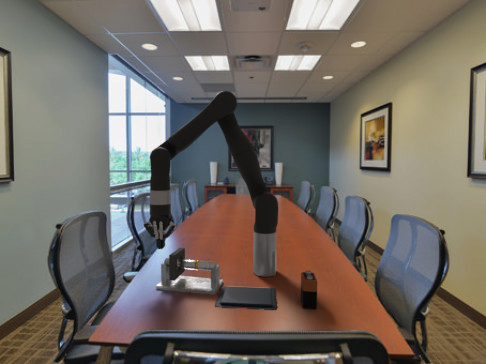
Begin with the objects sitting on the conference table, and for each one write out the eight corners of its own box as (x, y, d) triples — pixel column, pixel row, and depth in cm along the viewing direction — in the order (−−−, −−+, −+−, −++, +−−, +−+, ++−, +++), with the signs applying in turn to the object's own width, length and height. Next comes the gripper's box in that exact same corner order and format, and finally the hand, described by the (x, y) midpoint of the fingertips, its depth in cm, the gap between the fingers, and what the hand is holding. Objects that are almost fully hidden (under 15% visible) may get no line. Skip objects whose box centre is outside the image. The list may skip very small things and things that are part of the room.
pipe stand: (223, 282, 104) (223, 257, 103) (215, 295, 94) (215, 267, 93) (169, 277, 108) (168, 252, 107) (155, 288, 98) (155, 261, 98)
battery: (313, 298, 92) (314, 269, 91) (317, 309, 85) (317, 278, 84) (300, 298, 92) (301, 269, 92) (302, 308, 86) (303, 277, 85)
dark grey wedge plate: (185, 270, 106) (184, 247, 105) (174, 280, 97) (174, 255, 97) (180, 270, 106) (179, 247, 106) (169, 280, 98) (169, 255, 97)
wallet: (213, 303, 86) (222, 282, 101) (213, 309, 86) (222, 287, 101) (277, 307, 84) (277, 285, 99) (277, 313, 84) (276, 290, 99)
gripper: (181, 201, 104) (181, 246, 105) (149, 200, 106) (149, 244, 108) (172, 204, 96) (172, 253, 98) (138, 202, 99) (138, 250, 100)
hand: (160, 248), depth 103 cm, fingers closed
